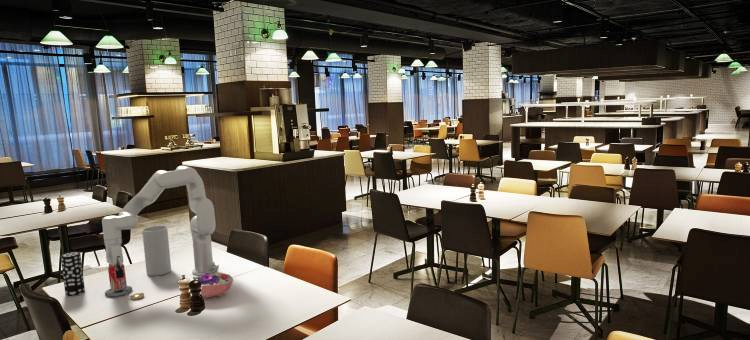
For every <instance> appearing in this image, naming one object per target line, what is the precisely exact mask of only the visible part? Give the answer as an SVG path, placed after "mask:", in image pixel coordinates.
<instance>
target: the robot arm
mask: <svg viewBox="0 0 750 340" xmlns="http://www.w3.org/2000/svg"><path fill="white" fill-rule="evenodd" d="M181 186H186V188H187V194H188V203H189V204H188V205H189V210H191V212H193V213H194V214H195V216H193V217H192V218H191V220H190V221H189V229H190V233H191V238H192V248H193V261H194V268H193V269H192V270H191V271H192V273H191V274H193V275H195V276H201V275H202V274H203V273H208V274H214V273H215V272H216V271H218V270H219V268H220V265H219V264H216V262H215V261H214V260H213V247H212V246H213V245H212V237H211V235H213V234H214V232H215V230H216V224H217V223H216V215H215V214H216V213H215V206H214V204H213V202H212V201H211V200H210V199H209V198H207V196H206V189H205V185H204V181H203V179H202V177H201V176H200V174H199V173H198V171H197V170H196V169H195V168H193V167H192V166H191V167H190V166H188V165H187V166H186V165H179V166H177V167H176V169H175V170H169V171H167V170H164V169H162V170H161V169H160V170H157V171H155V173H153V174H152V176H151V177H150V178H149V179H148V181H147V183H145V184H144V186H143V187H142V188H141V190H140V191H139V192H138V193H136V194H135V196H134V197H133V198H131V199H130V200H129V201H128V202H127V203H126V204H125V205H124V207H123V208H122V210H121V211H120V212H119V213H118V215H108V216H106V215H105V216H104V217H103V218H101V225H102V233H103V242H104V246H105V259H106V263H108V265H109V264H110V265H112V266H114V265H115V267H116V278H117V279H118V278H122V277H124V273H123V264H124V254H123V250H122V248H123V247H122V244H123V239H122V237H123V236H122V230H132V229H135V228H136V227H138V224H139V218H138V217H137V215H138V214H139V213H140V212H141V211H142V210H143V209H144V208H146V207H147V206H150V205H151V204H153V203H154V202H155V203H156V200H157V199H158V198H159V196H160V195H161V194H162V193H163V192H164V190H165V189H171V188H178V187H181ZM116 263H119V264H116ZM118 265H119V266H118ZM117 266H118V267H117Z"/></svg>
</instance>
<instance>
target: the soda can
mask: <svg viewBox="0 0 750 340" xmlns="http://www.w3.org/2000/svg"><path fill="white" fill-rule="evenodd" d="M116 264H119V263H116ZM118 266H119V265H118ZM118 266H117V267H118ZM125 269H126V268H125V265H124V263H123V273H124V277H122V278H118V279H117V278H116V267H115V265H114V266H112V265H110V264H109V263H108V267H107V271H108V272H107V273H108V278H109V279H108V280H109V285H110V286H109V287H110V289H112V290H113V291H119V290H123V289H125V288H126V286H128V284H127V277H126V270H125Z"/></svg>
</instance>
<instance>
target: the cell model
mask: <svg viewBox="0 0 750 340" xmlns="http://www.w3.org/2000/svg"><path fill="white" fill-rule="evenodd" d="M195 278H196V279H198V280H199V281H201V283H202V289H201V295H202V296H203V297H202V298H213V297H222V296H224V295H225V294H227V293H228V292H229V291H230V289H231V287H232V285H233V282H234V277H232V276H231V274H228V273H223V272H219V273H218V272H217V273H210V274H208V273H203V274H202V275H197V276H196V277H195Z"/></svg>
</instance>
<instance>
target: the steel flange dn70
mask: <svg viewBox="0 0 750 340" xmlns="http://www.w3.org/2000/svg"><path fill="white" fill-rule="evenodd" d="M132 292H133V286H130V285H127V286H126V288H125V289H123V290H119V291H113V290H112V289H111V288H109V289H107V290H105V292H104V296H105V297H106V298H119V297H123V296H126V295H129V294H130V293H132Z"/></svg>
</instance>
